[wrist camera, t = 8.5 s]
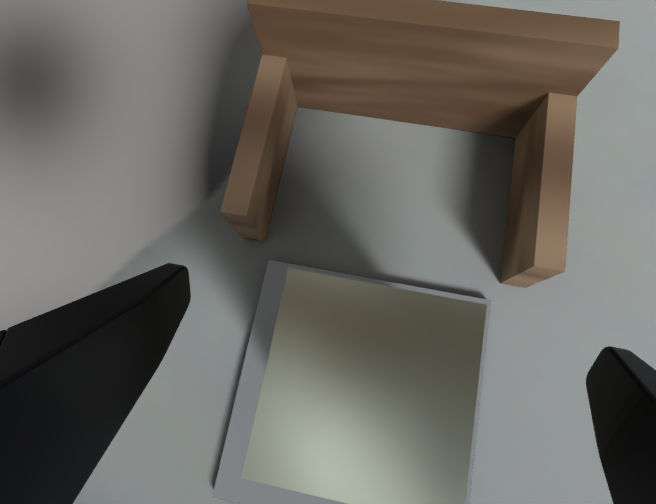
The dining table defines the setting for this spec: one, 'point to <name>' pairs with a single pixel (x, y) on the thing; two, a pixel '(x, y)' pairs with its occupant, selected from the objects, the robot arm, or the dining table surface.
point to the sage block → (368, 393)
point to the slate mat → (254, 497)
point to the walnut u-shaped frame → (427, 98)
